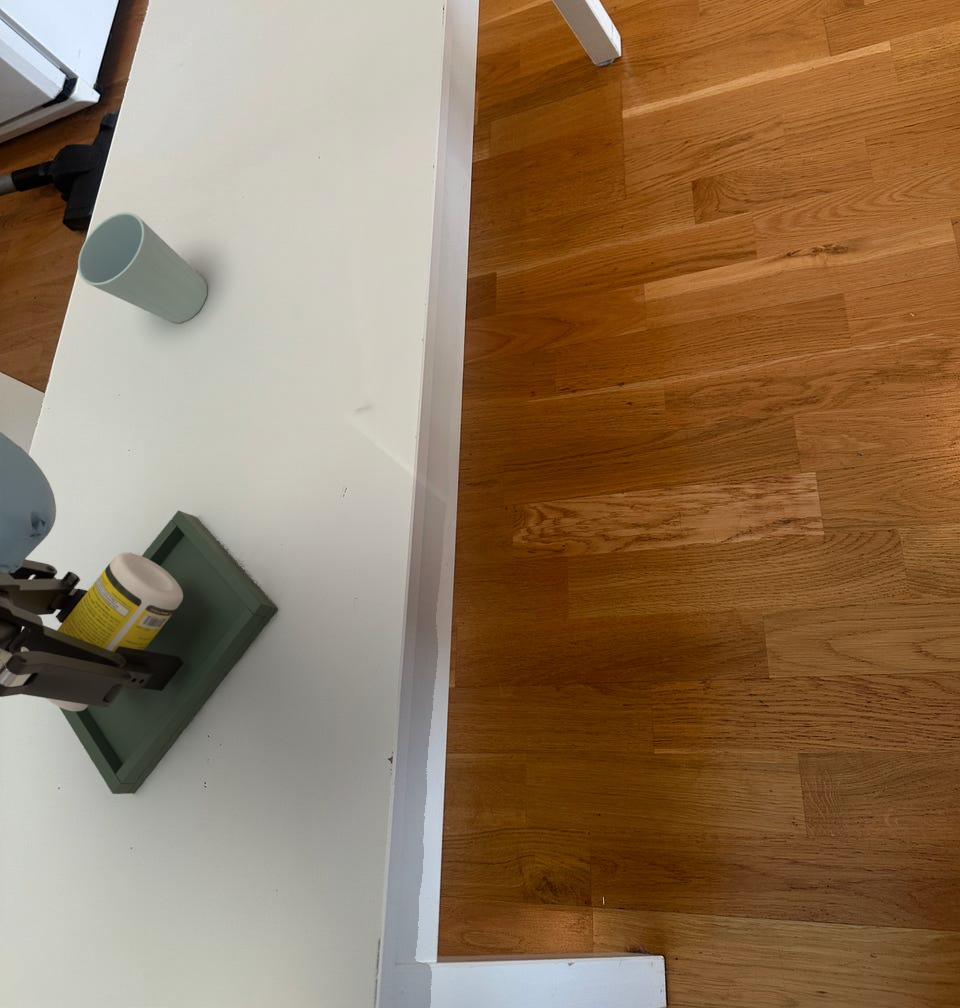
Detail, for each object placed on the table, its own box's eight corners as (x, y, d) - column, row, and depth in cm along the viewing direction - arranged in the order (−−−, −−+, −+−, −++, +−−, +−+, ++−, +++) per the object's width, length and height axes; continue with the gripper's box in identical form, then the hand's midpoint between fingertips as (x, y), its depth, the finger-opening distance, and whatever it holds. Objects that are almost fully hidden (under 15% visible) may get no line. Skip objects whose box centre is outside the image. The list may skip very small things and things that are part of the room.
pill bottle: (118, 539, 69) (26, 652, 68) (118, 571, 64) (18, 695, 63) (183, 576, 72) (96, 686, 71) (189, 611, 66) (95, 730, 65)
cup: (143, 309, 91) (65, 260, 82) (192, 254, 91) (119, 199, 83) (177, 346, 87) (99, 298, 78) (229, 288, 87) (156, 234, 79)
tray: (134, 793, 69) (112, 794, 67) (63, 682, 76) (41, 680, 74) (278, 608, 70) (261, 603, 68) (195, 516, 77) (178, 509, 75)
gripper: (-24, 648, 47) (242, 687, 66) (-131, 458, 58) (124, 539, 77) (-117, 763, 47) (178, 769, 66) (-208, 550, 57) (69, 608, 76)
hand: (149, 645), depth 71 cm, fingers closed on pill bottle, 6 cm apart
